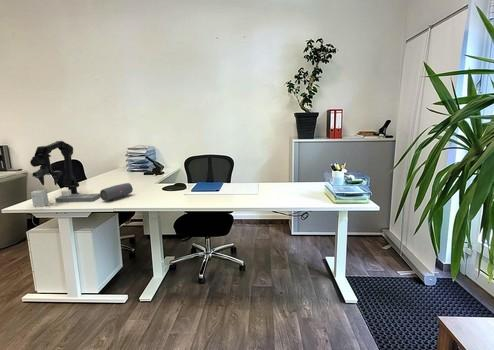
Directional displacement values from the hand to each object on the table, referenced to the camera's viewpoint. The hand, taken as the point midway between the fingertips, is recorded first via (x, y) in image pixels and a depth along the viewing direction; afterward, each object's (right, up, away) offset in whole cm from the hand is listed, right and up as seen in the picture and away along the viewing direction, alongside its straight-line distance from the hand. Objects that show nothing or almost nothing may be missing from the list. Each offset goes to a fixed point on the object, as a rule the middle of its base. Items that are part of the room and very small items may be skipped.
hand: (49, 185), depth 222 cm
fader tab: (+7, -8, +10) cm, 14 cm away
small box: (-5, -15, -2) cm, 15 cm away
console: (+16, -11, +10) cm, 22 cm away
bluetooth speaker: (+45, -10, +11) cm, 47 cm away
